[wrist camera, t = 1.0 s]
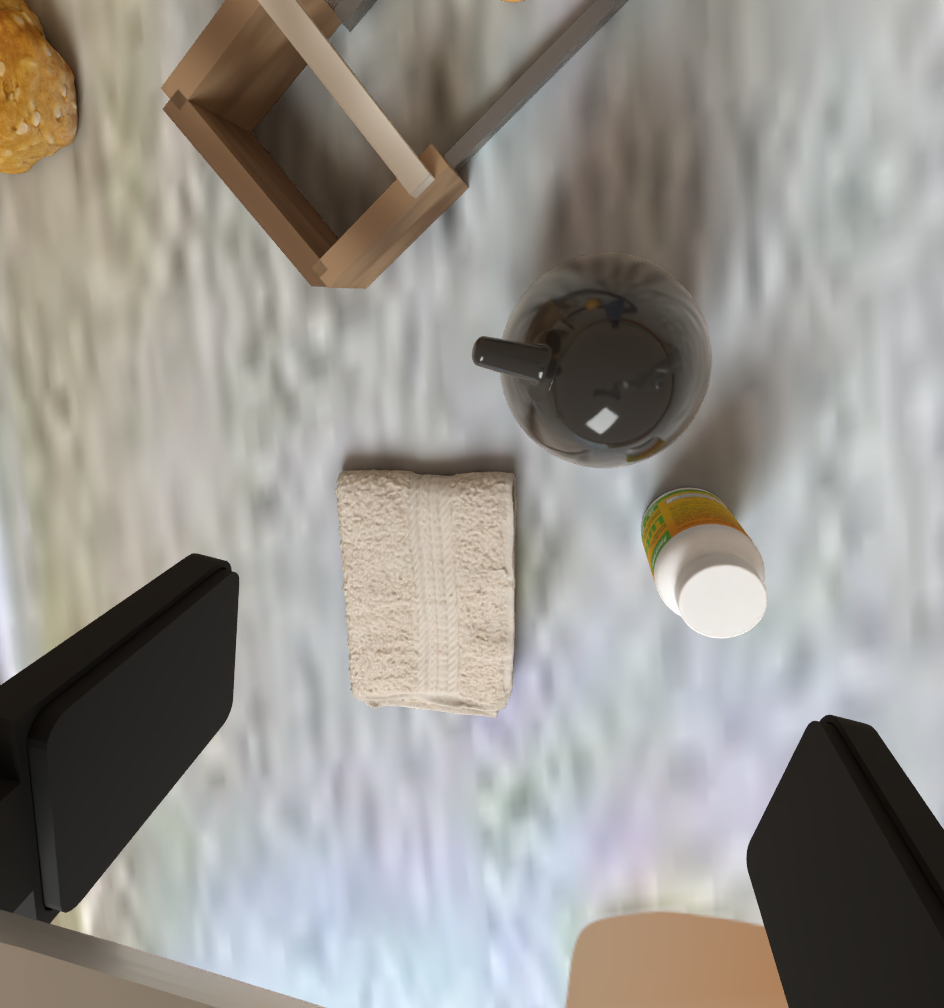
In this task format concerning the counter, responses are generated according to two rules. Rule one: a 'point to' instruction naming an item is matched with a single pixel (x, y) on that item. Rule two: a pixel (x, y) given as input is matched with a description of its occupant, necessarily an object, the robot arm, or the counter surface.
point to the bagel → (32, 92)
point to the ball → (512, 0)
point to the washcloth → (429, 588)
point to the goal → (252, 171)
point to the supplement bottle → (704, 563)
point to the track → (596, 15)
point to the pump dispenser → (603, 360)
